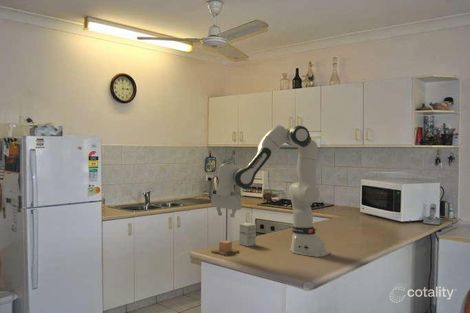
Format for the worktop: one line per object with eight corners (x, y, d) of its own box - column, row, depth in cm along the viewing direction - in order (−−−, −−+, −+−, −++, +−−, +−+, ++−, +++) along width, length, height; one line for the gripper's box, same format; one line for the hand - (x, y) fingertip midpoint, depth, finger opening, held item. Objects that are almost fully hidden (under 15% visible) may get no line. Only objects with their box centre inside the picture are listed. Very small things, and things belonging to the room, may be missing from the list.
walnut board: (239, 252, 229) (239, 250, 229) (225, 256, 221) (225, 254, 221) (224, 248, 237) (224, 247, 237) (211, 252, 228) (211, 250, 228)
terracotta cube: (231, 250, 229) (231, 241, 229) (225, 252, 225) (225, 243, 225) (225, 249, 232) (225, 240, 232) (219, 250, 229) (219, 241, 228)
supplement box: (238, 244, 248) (239, 223, 248) (247, 242, 253) (248, 222, 253) (246, 246, 243) (247, 225, 243) (256, 244, 248) (256, 224, 247)
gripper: (243, 192, 224) (244, 217, 224) (217, 190, 237) (217, 213, 237) (236, 193, 219) (236, 219, 219) (209, 190, 232) (209, 215, 233)
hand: (226, 216), depth 228 cm, fingers open, 8 cm apart
